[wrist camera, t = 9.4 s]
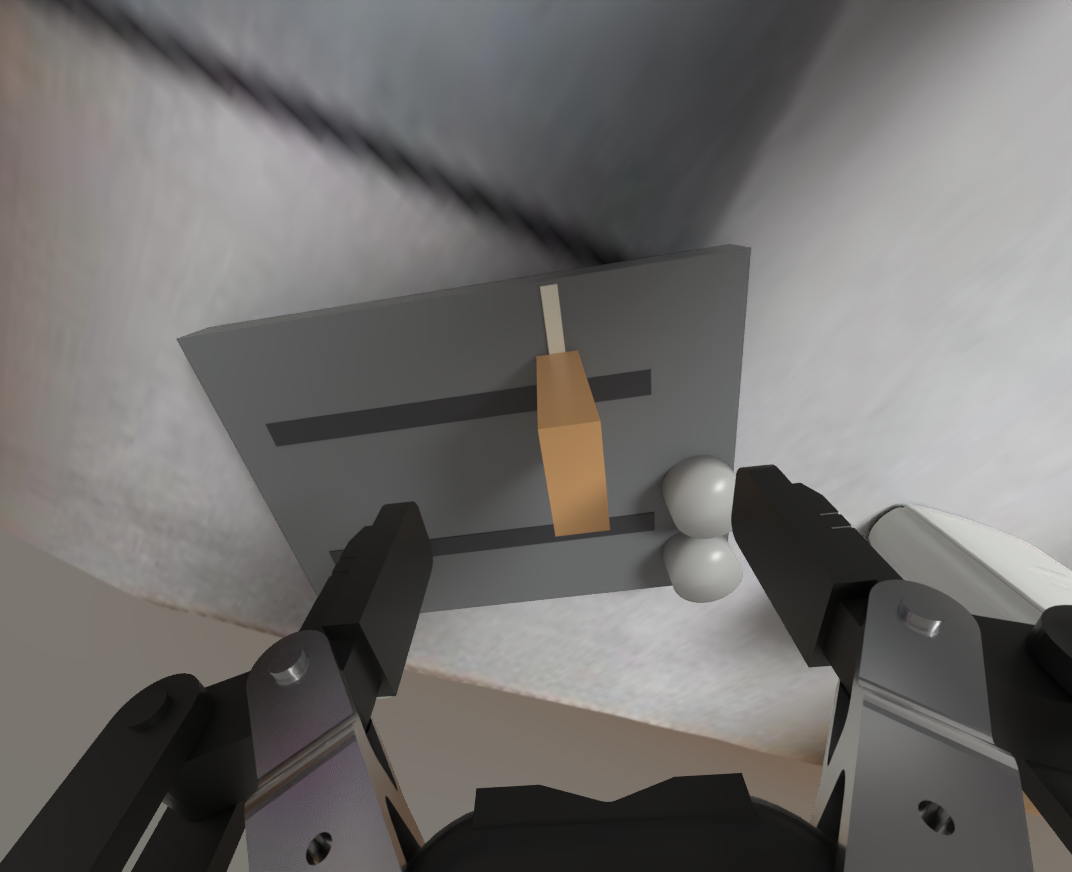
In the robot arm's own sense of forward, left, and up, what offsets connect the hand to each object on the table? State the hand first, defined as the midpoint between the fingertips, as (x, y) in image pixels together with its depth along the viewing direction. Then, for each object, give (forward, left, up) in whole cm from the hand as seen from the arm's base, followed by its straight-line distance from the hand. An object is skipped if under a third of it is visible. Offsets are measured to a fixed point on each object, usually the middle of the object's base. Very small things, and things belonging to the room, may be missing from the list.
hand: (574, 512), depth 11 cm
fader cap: (+1, 0, -9) cm, 9 cm away
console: (+5, -4, -11) cm, 13 cm away
